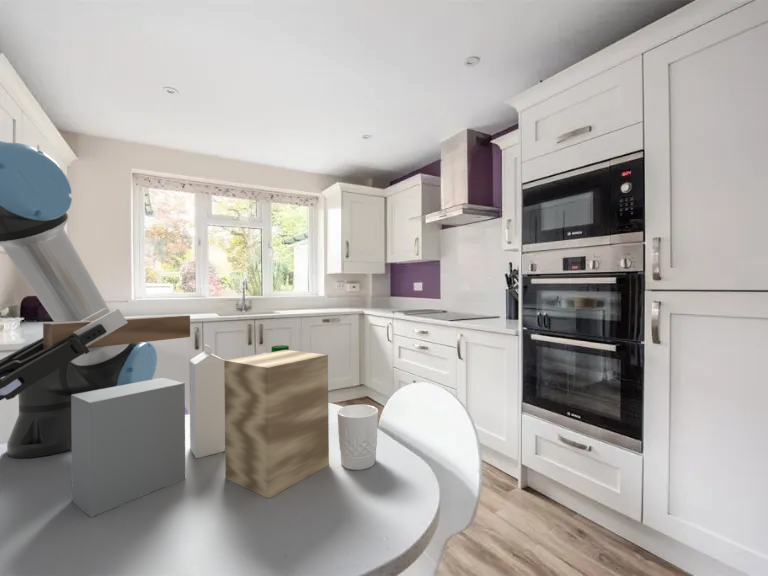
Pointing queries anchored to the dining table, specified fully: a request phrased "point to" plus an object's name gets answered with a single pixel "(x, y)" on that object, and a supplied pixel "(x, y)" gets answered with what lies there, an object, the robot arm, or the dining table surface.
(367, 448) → the white cup
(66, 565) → the dining table surface
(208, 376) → the milk
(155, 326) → the bar
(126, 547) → the dining table surface
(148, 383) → the grey block
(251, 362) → the oak block
